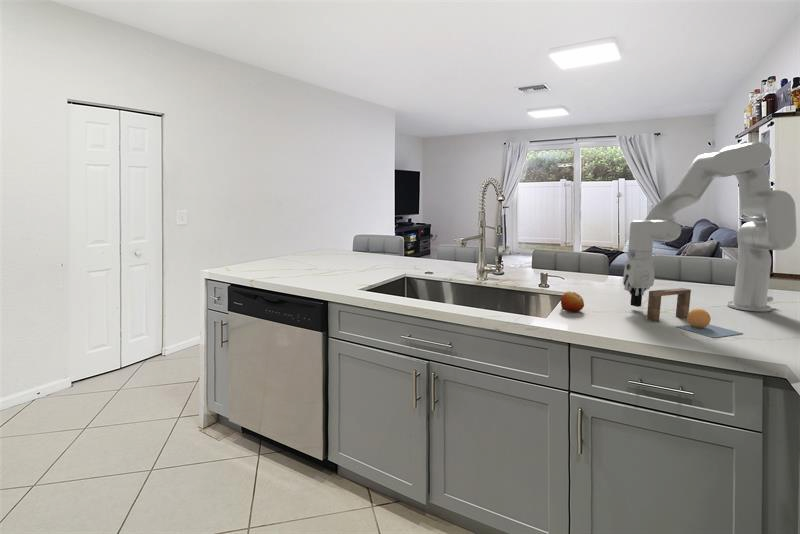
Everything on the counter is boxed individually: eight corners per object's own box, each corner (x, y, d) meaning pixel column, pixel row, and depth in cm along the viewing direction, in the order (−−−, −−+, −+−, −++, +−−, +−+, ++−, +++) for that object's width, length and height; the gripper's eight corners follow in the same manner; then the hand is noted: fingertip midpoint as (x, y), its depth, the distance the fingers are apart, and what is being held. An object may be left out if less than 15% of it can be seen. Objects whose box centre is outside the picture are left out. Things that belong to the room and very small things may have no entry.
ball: (707, 304, 138) (719, 320, 135) (695, 315, 143) (706, 331, 139) (691, 305, 137) (702, 321, 133) (679, 316, 142) (690, 332, 138)
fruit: (559, 303, 165) (572, 286, 162) (577, 316, 162) (590, 299, 158) (551, 307, 159) (564, 289, 156) (570, 321, 156) (583, 304, 152)
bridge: (646, 319, 148) (649, 291, 146) (680, 315, 153) (682, 287, 151) (654, 322, 145) (657, 292, 143) (688, 317, 150) (691, 289, 148)
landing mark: (703, 323, 143) (703, 322, 143) (743, 333, 132) (743, 333, 132) (676, 327, 139) (676, 326, 139) (714, 338, 128) (714, 337, 128)
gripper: (632, 257, 152) (628, 310, 155) (664, 255, 157) (660, 306, 160) (614, 255, 159) (611, 305, 162) (646, 253, 164) (642, 302, 167)
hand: (635, 305), depth 161 cm, fingers closed
